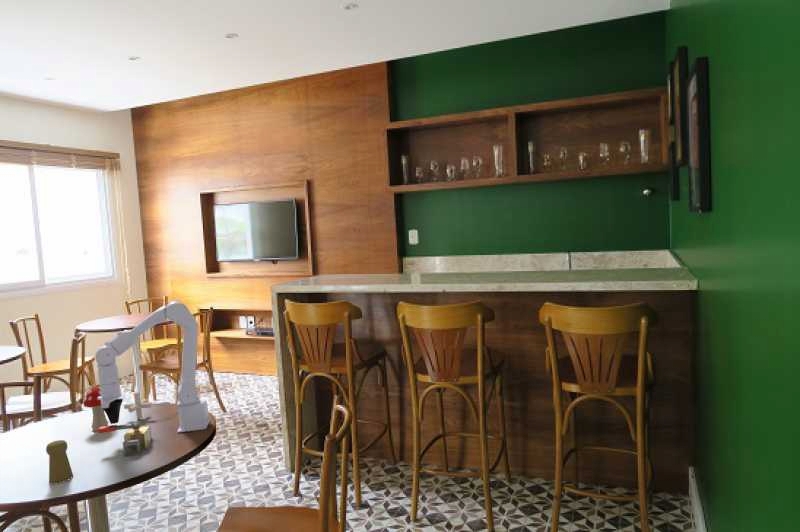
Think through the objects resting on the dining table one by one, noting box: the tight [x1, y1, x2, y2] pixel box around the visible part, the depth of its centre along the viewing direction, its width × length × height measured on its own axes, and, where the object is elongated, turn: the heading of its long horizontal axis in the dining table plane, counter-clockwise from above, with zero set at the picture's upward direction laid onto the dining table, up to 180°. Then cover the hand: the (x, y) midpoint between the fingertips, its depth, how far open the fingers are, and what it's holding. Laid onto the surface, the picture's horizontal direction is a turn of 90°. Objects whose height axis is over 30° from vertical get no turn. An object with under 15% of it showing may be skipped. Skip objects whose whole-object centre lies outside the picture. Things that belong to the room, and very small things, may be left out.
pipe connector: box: [123, 391, 153, 420], centre depth 211 cm, size 10×10×10 cm
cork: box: [45, 439, 74, 484], centre depth 162 cm, size 6×6×11 cm
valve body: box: [122, 424, 153, 457], centre depth 183 cm, size 6×14×6 cm, turn 9°
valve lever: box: [97, 421, 142, 434], centre depth 182 cm, size 12×3×1 cm, turn 99°
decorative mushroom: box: [83, 386, 109, 432], centre depth 204 cm, size 10×9×15 cm
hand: (114, 422), depth 187 cm, fingers closed
